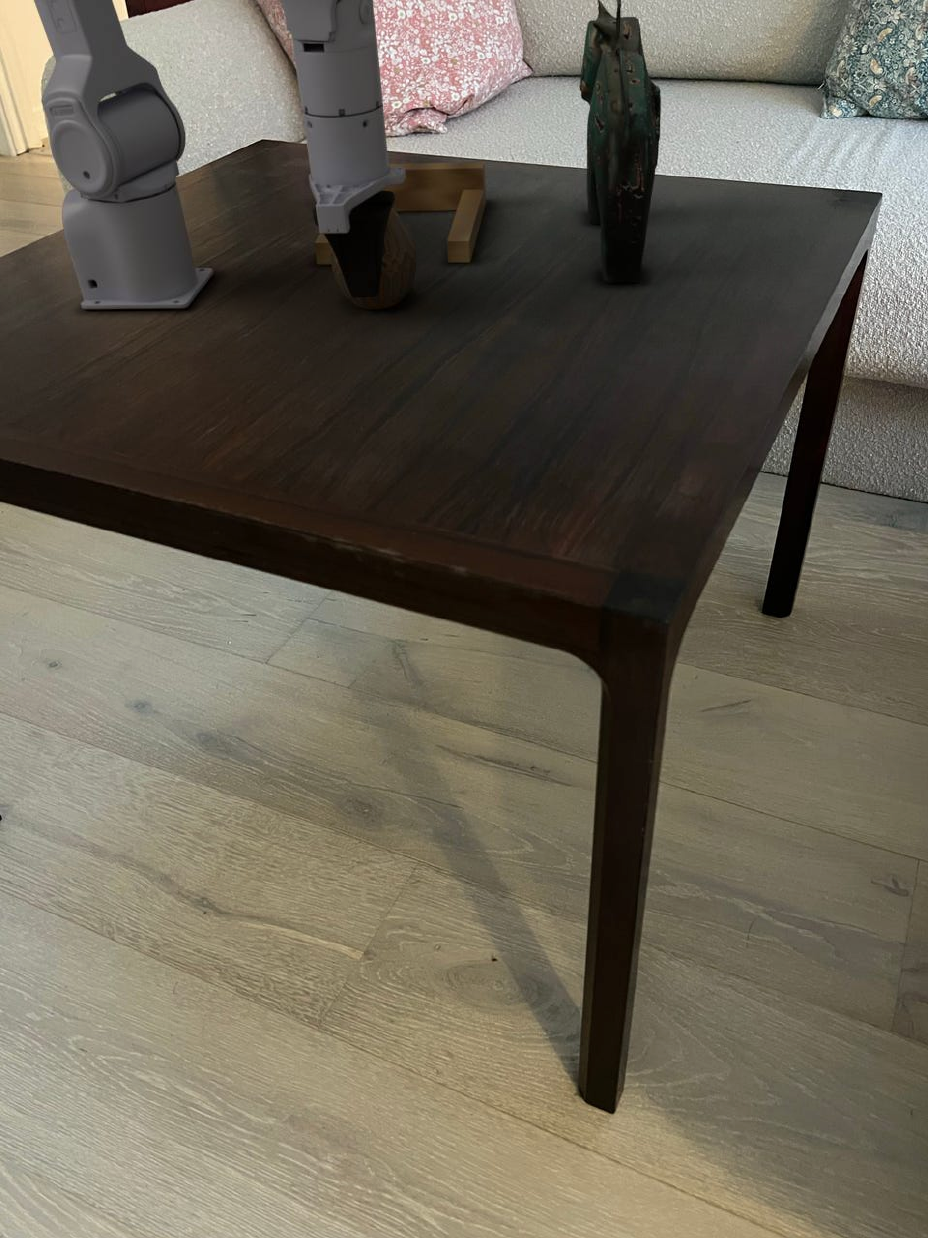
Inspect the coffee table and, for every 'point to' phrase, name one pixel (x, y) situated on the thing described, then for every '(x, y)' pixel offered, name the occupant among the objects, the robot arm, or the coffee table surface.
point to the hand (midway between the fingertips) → (365, 294)
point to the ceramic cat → (619, 140)
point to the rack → (438, 202)
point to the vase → (387, 267)
